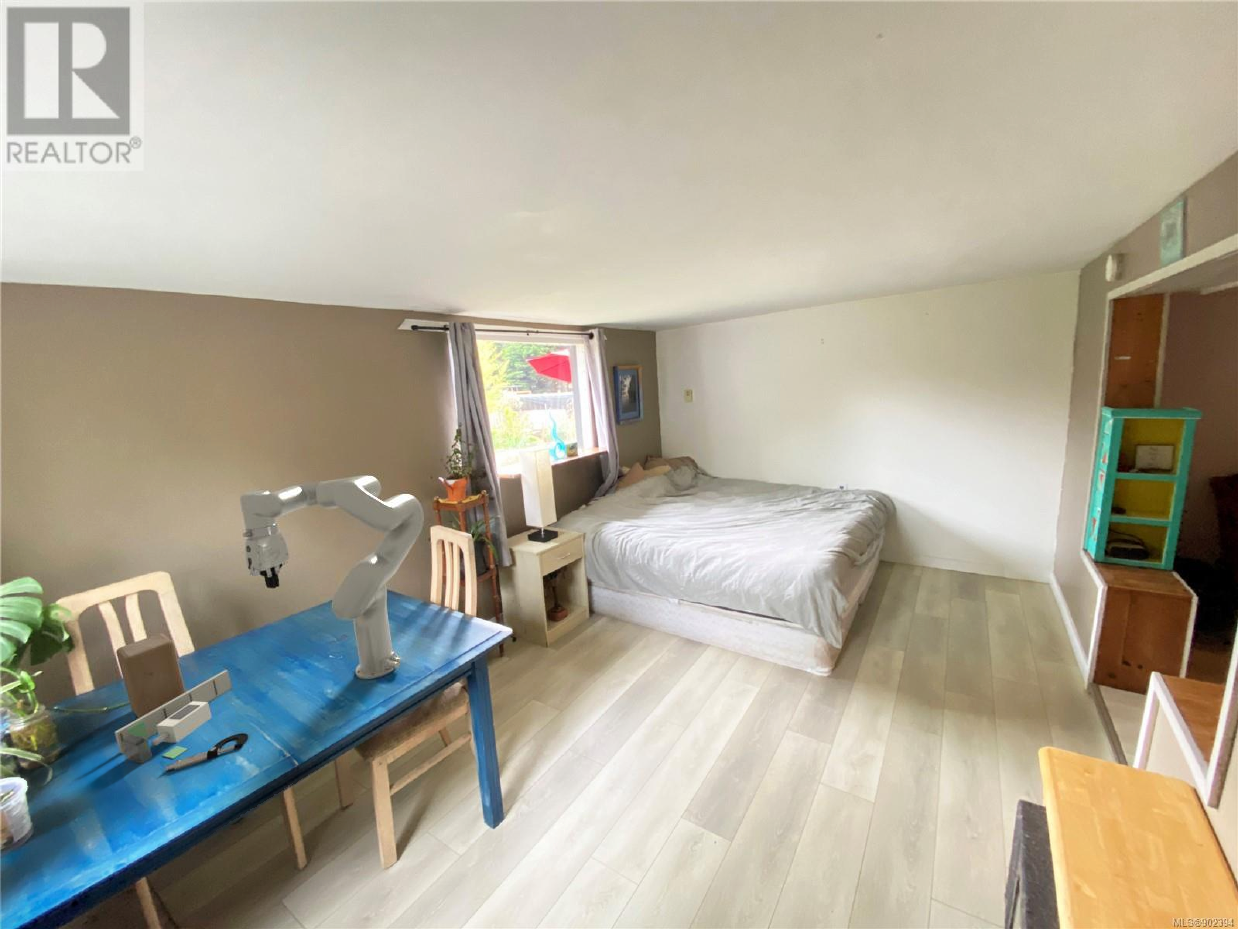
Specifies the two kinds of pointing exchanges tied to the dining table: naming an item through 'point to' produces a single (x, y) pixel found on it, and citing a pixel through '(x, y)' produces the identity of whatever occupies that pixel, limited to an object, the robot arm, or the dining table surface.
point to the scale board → (174, 708)
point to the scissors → (209, 752)
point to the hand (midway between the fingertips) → (273, 586)
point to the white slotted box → (182, 722)
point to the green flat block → (175, 752)
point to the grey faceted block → (136, 749)
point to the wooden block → (150, 673)
